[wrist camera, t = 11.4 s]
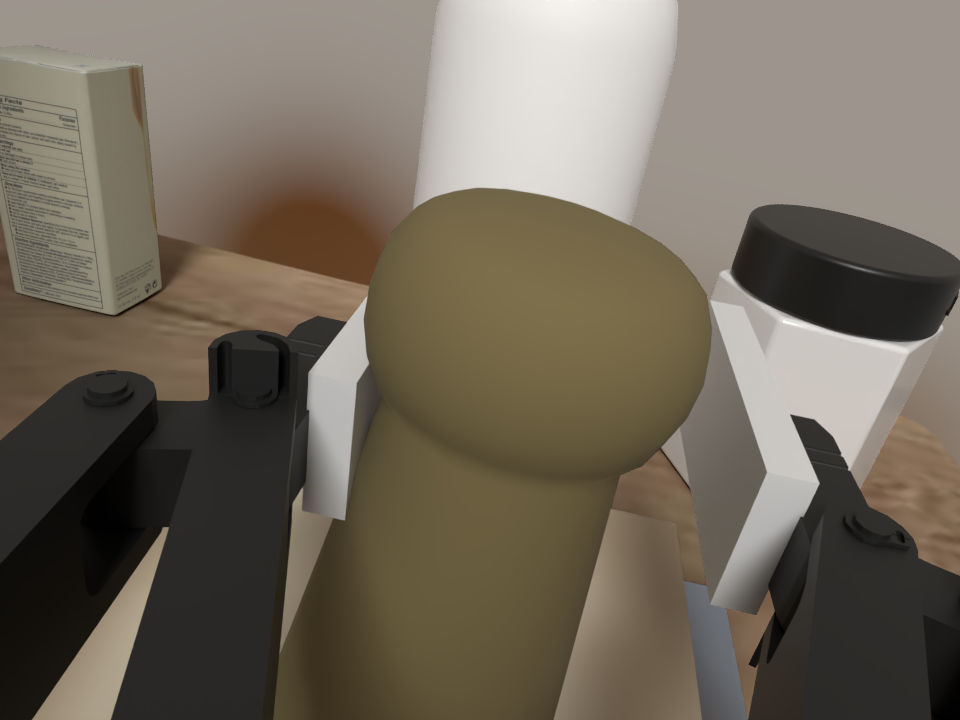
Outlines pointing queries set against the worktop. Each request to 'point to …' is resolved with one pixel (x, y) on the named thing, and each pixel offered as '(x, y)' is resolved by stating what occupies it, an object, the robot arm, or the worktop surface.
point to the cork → (491, 456)
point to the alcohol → (546, 98)
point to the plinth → (595, 656)
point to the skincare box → (77, 179)
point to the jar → (838, 319)
